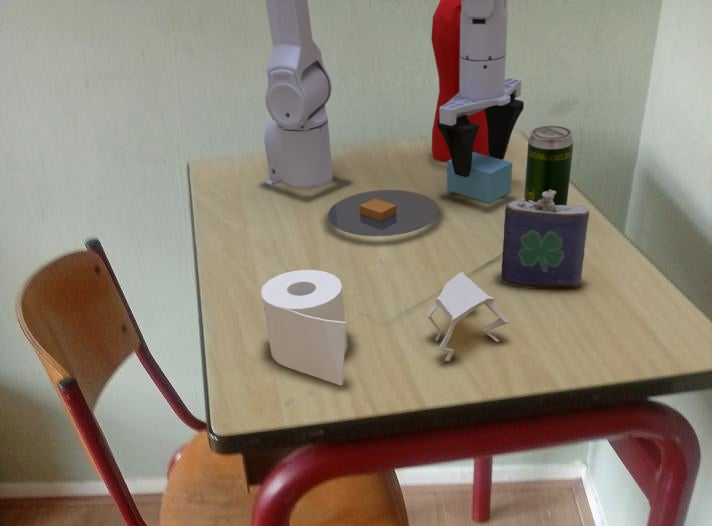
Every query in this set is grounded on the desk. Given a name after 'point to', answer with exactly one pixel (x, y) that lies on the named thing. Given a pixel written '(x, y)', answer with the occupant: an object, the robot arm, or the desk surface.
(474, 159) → the sponge
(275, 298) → the toilet paper
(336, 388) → the desk surface
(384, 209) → the orange cardboard box
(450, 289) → the origami figure
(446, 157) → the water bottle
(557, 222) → the flask
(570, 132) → the beer can
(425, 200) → the plate
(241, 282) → the desk surface
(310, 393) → the desk surface
